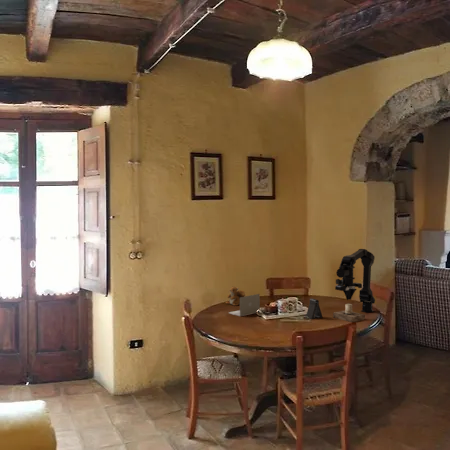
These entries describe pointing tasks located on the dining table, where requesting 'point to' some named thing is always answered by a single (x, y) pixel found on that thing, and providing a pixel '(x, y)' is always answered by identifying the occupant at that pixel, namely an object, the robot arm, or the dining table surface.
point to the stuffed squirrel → (235, 296)
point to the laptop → (248, 305)
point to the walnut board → (349, 316)
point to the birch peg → (348, 309)
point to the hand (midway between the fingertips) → (348, 299)
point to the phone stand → (314, 309)
